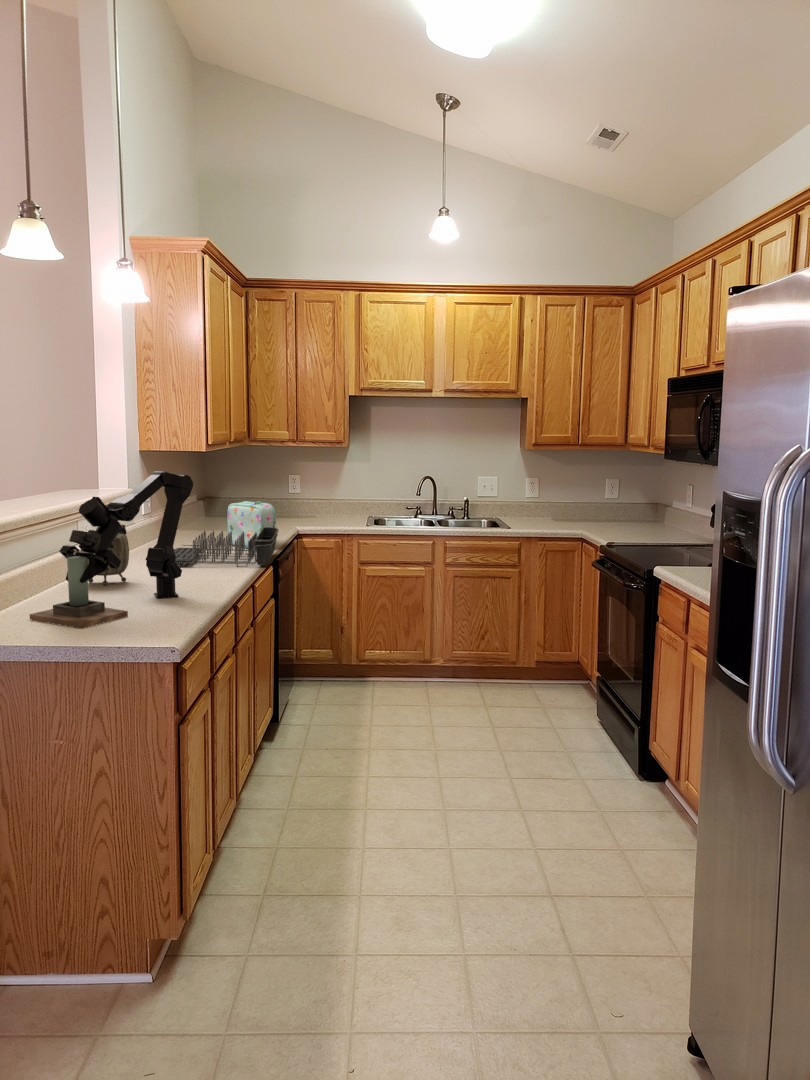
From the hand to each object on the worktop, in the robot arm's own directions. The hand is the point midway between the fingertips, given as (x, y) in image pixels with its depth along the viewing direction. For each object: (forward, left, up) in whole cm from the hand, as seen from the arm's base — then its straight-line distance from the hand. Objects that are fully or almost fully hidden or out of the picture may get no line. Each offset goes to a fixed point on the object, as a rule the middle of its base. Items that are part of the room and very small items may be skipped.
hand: (73, 581), depth 212 cm
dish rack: (-80, +60, -11) cm, 100 cm away
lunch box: (-111, +82, -11) cm, 138 cm away
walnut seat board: (-1, +1, -11) cm, 11 cm away
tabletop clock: (-48, +13, -11) cm, 51 cm away
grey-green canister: (-1, +1, -7) cm, 7 cm away
